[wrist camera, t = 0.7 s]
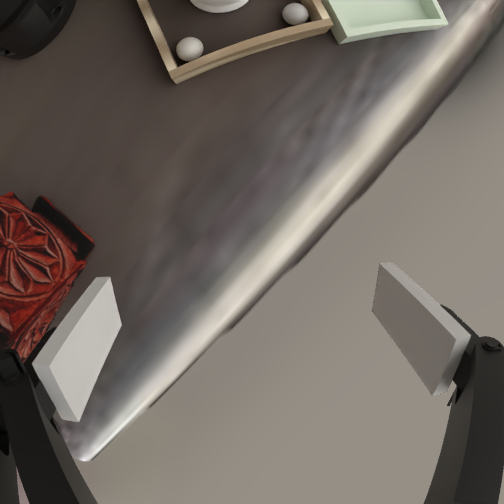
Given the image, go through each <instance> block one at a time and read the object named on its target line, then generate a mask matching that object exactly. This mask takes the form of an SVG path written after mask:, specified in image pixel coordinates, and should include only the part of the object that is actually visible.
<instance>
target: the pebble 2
mask: <svg viewBox="0 0 504 504" xmlns="http://www.w3.org/2000/svg"><path fill="white" fill-rule="evenodd" d="M308 15H309V14H308V11H307V9H306V8H305V7H304V6H303V5H301V4H299V3H291V4H288V5H287V6H285V7H284V9H283V12H282V16H283V18H284V20H285V21H286V22H287V23H289V24H291V25H295V26H296V25H300V24H303V23H305V22H306V21H307V19H308Z"/></svg>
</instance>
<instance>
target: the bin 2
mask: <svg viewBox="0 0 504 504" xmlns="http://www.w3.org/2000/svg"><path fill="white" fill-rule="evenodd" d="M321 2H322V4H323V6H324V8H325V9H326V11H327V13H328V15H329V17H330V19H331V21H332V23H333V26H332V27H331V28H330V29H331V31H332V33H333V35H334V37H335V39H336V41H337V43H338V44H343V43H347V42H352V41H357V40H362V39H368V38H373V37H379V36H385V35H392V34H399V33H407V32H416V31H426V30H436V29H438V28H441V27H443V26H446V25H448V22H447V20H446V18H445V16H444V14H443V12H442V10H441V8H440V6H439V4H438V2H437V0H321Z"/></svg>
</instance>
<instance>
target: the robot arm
mask: <svg viewBox="0 0 504 504" xmlns="http://www.w3.org/2000/svg"><path fill="white" fill-rule="evenodd" d="M75 2H76V0H0V55H2V56H5V57H8V58H12V59H23V58H26V57H29V56H31V55H33V54H35V53H37V52H38V51H40V50H41V49H43V48H44V47H45V46H46V45H48V44H49V43H50V42H51V41H52V40H53V39H54V38H55V37H56V36H57V34H58V33H59V32H60V31H61V29H62V28H63V27H64V25H65V24H66V22H67V21H68V19H69V17H70V15H71V13H72V11H73V8H74V5H75ZM372 312H373V313H374V315H375V316H376V317H377V318H378V320H379V321H380V323H381V324H382V325H383V327H384V328H385V329H386V331H387V332H388V334H389V335H390V336H391V338H392V339H393V340H394V342H395V343H396V345H397V346H398V347H399V349H400V350H401V352H402V353H403V354H404V356H405V357H406V358H407V360H408V361H409V363H410V364H411V365H412V367H413V368H414V370H415V371H416V373H417V374H418V376H419V377H420V378H421V380H422V381H423V383H424V384H425V386H426V387H427V389H428V390H429V392H430V393H431V395H432V396H434V395H438V394H441V393H444V392H446V391H447V390H448V388H449V386H450V384H451V382H452V380H453V381H454V382H455V384H456V385H457V386H456V389H455V391H454V393H453V395H452V396H451V398H450V400H449V402H448V404H447V406H450V403H451V402H452V405H451V410H450V415H449V420H448V424H447V429H446V433H445V437H444V441H443V445H442V449H441V453H440V456H439V460H438V463H437V466H436V470H435V473H434V476H433V479H432V482H431V485H430V488H429V491H428V494H427V497H426V499H425V502H424V504H498V499H499V494H500V488H501V482H502V475H503V466H504V347H503V345H502V344H501V343H500V342H499V341H498V340H496V339H494V338H491V337H486V336H484V337H479V336H478V335H477V334H475V332H474V331H473V330H472V329H471V328H470V327H468V325H466V324H465V323H464V322H462V320H461V319H460V318H459V317H457V315H456V314H455V313H454V312H453V311H452V310H451V309H448V308H447V307H445V306H443V305H439V304H438V303H437V302H436V301H435V300H434V299H433V298H432V297H431V296H429V295H428V294H427V293H426V292H425V291H424V290H423V289H422V288H421V287H420V286H418V285H417V284H416V283H415V282H414V281H413V280H412V279H411V278H409V277H408V276H407V275H406V274H405V273H404V272H403V271H401V270H400V269H399V268H398V267H397V266H396V265H395V264H393V263H380V264H379V270H378V277H377V284H376V290H375V296H374V301H373V307H372ZM121 326H122V324H121V320H120V316H119V313H118V309H117V304H116V300H115V296H114V292H113V287H112V283H111V278H110V277H96V278H95V280H94V281H93V282H92V283H91V285H90V286H89V287H88V288H87V290H86V291H85V292H84V293H83V295H82V296H81V297H80V298H79V300H78V301H77V302H76V303H75V305H74V306H73V307H72V309H71V310H70V311H69V313H68V314H67V315H66V317H65V318H64V319H63V321H62V322H61V323H60V325H59V326H58V327H53V328H52V329H51V330H49V331H48V332H47V333H45V335H44V336H43V337H42V339H41V340H40V343H38V344H37V345H36V347H35V349H34V350H33V351H32V352H31V354H30V355H29V357H28V358H27V359H26V361H25V362H24V364H23V362H22V360H21V358H20V356H19V354H18V352H17V350H15V349H10V348H7V349H3V350H1V351H0V504H20V503H19V495H18V485H17V474H16V473H17V472H16V466H17V469H18V472H19V476H20V479H21V481H22V484H23V487H24V490H25V493H26V495H27V498H28V501H29V503H30V504H98V503H97V501H96V500H95V498H94V497H93V495H92V493H91V491H90V490H89V488H88V486H87V484H86V483H85V481H84V479H83V477H82V475H81V474H80V472H79V470H78V468H77V466H76V464H75V462H74V460H73V458H72V456H71V454H70V452H69V450H68V448H67V445H66V443H65V441H64V439H63V437H62V434H61V432H60V430H59V427H58V425H57V423H56V421H55V419H54V418H53V414H54V412H55V410H57V411H58V413H59V415H60V416H61V418H62V419H64V420H69V421H75V422H79V421H80V418H81V416H82V413H83V411H84V408H85V406H86V403H87V401H88V399H89V396H90V394H91V391H92V389H93V387H94V384H95V382H96V380H97V378H98V375H99V373H100V371H101V368H102V366H103V364H104V362H105V360H106V357H107V355H108V353H109V351H110V349H111V347H112V344H113V342H114V340H115V338H116V336H117V334H118V332H119V330H120V328H121Z"/></svg>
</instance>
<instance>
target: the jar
mask: <svg viewBox="0 0 504 504" xmlns="http://www.w3.org/2000/svg"><path fill="white" fill-rule="evenodd" d="M190 1H191V2H192V3H193V4H194V5H195V6H196V7H198V8H199V9H202V10H204V11H208V12H213V13H224V12H230V11H233V10H236V9H238V8H240V7H242V6H243V5H244V4H246V3H247V2H248V1H249V0H190Z"/></svg>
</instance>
